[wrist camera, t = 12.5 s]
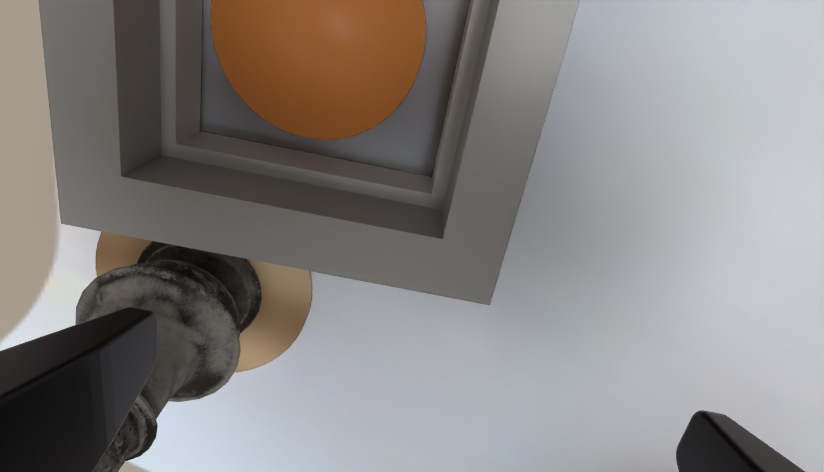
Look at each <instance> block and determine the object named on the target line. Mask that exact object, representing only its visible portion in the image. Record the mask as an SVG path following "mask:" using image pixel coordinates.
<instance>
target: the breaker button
mask: <svg viewBox="0 0 824 472" xmlns="http://www.w3.org/2000/svg"><path fill="white" fill-rule="evenodd" d="M210 13H211V30H212V37H213V42H214V46H215V50H216V53H217V57H218V59H219V62H220V64H221V67H222V69H223V71H224V73H225V75H226V77H227V78H228V80H229V82H230V84H231V85H232V87H233V88H234V89H235V91H236V92H237V94H238V95H239V96H240V97H241V99H242V100H243V101H244V102H245V103H246V104H247V105H248V106H249V107H250V108H251V109H252V110H253V111H254V112H255V113H256V114H258V115H259V116H260V117H262V118H263V119H264V120H266V121H267V122H269V123H270V124H272V125H274V126H276V127H278V128H279V129H281V130H284V131H286V132H289V133H291V134H294V135H297V136H301V137H305V138H311V139H319V140H333V139H341V138H346V137H350V136H354V135H357V134H360V133H362V132H365V131H367V130H369V129H371V128H373V127H374V126H376V125H378V124H379V123H381V122H382V121H383V120H385V119H386V118H387V117H388V116H390V115H391V114H392V113H393V112H394V111H395V109H396V108H397V107H398V106H399V105H400V104H401V103H402V101H403V100H404V99H405V97H406V96H407V94H408V93H409V91H410V89H411V87H412V85H413V83H414V81H415V79H416V76H417V74H418V71H419V68H420V65H421V62H422V58H423V54H424V50H425V42H426V17H425V9H424V5H423V1H422V0H211V11H210Z"/></svg>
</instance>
